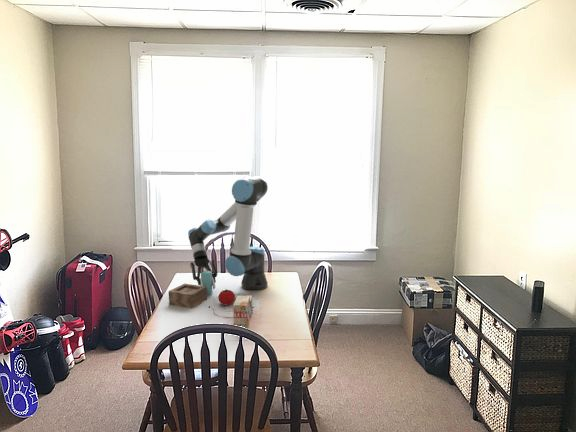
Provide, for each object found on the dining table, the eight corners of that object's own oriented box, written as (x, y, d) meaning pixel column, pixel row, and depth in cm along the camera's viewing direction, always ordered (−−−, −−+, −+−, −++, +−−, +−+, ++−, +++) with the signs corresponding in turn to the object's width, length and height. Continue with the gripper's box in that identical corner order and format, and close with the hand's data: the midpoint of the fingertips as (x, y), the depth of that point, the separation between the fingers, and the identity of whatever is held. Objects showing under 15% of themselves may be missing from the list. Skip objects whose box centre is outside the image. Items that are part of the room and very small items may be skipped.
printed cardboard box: (240, 313, 250) (239, 289, 248) (252, 313, 249) (252, 289, 247) (233, 330, 229) (233, 304, 226) (247, 330, 228) (247, 304, 226)
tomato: (214, 304, 262) (214, 289, 260) (227, 299, 268) (227, 285, 267) (225, 308, 256) (225, 293, 254) (238, 303, 262) (238, 289, 261)
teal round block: (214, 292, 280) (213, 271, 278) (208, 295, 275) (207, 274, 273) (205, 290, 283) (204, 270, 280) (199, 294, 277) (198, 273, 275)
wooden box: (206, 299, 268) (206, 286, 267) (191, 308, 256) (191, 294, 254) (185, 296, 274) (184, 283, 273) (169, 304, 261) (168, 291, 260)
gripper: (214, 254, 293) (223, 289, 282) (182, 258, 285) (190, 294, 274) (216, 247, 288) (226, 283, 276) (184, 251, 280) (192, 288, 268)
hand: (208, 288), depth 275 cm, fingers closed on teal round block, 6 cm apart
